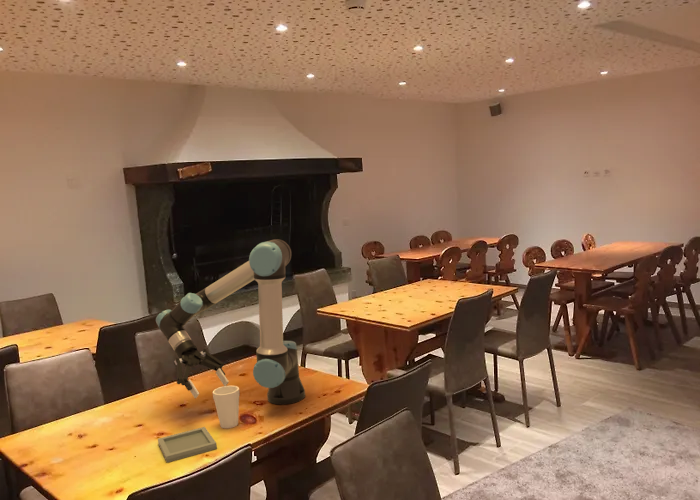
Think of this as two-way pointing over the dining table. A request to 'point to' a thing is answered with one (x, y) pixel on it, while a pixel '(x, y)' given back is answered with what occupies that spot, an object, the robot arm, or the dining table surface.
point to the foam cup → (227, 405)
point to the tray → (186, 444)
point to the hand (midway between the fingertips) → (212, 390)
